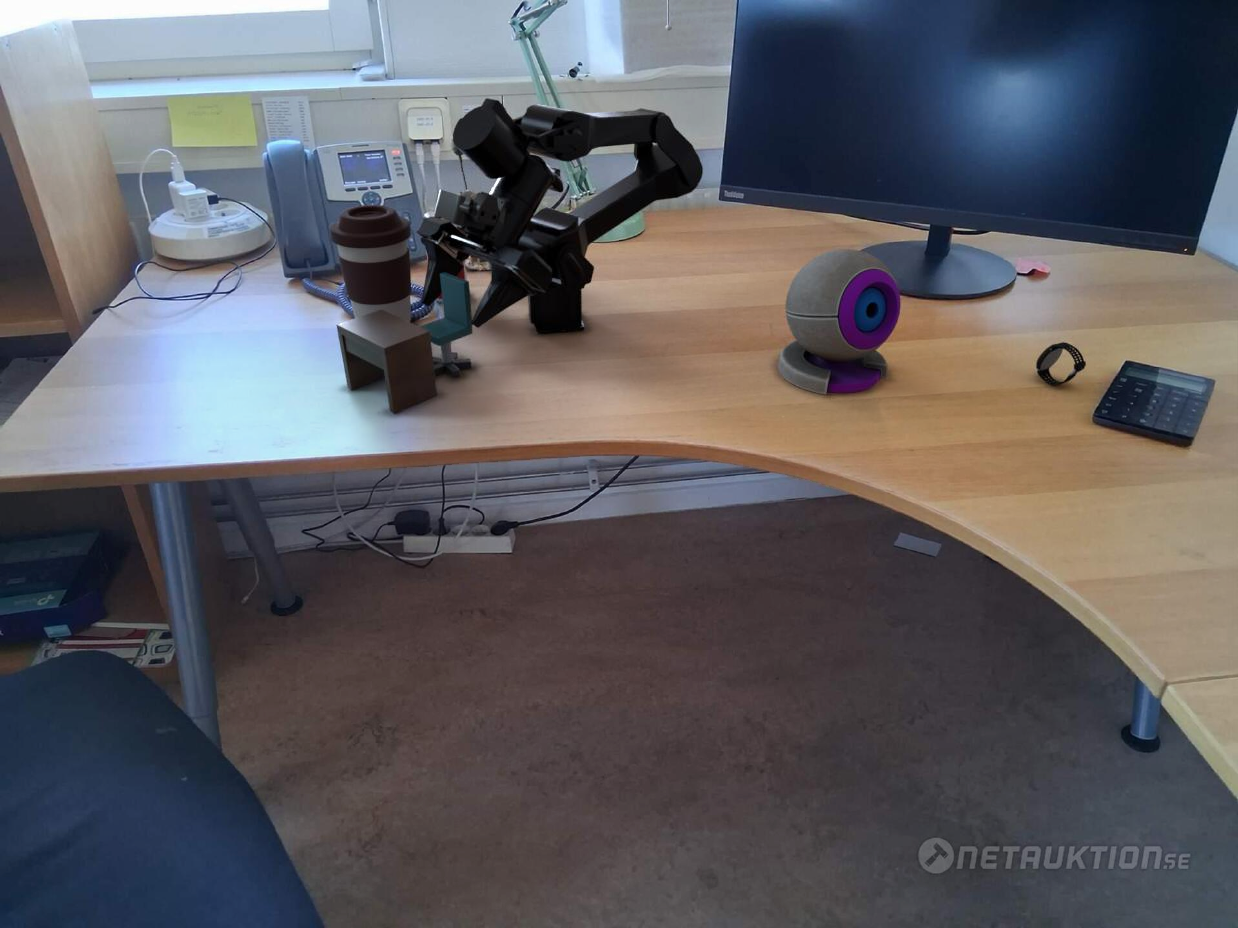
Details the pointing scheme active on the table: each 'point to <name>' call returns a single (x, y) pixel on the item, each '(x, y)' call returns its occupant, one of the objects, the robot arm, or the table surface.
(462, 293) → the office chair
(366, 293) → the coffee cup
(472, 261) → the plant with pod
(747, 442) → the table surface
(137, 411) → the table surface
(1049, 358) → the smartwatch
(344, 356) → the desk
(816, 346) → the webcam
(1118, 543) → the table surface
